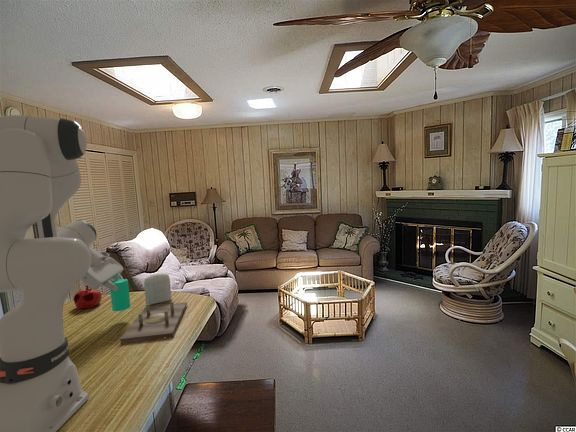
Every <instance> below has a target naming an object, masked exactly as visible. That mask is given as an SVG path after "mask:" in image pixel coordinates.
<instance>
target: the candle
mask: <svg viewBox="0 0 576 432" xmlns="http://www.w3.org/2000/svg"><path fill="white" fill-rule="evenodd" d="M110 281H111V282H112V283H114V284H116V285H117V286H119V289H118V290H117V291H114V290H112V289H110V288H109V290H110V299H111V300H110V301H111V309H112V311H113V312H121V311H125V310H128V309H129V308H131V300H130V298H131V297H130V289H129V280H128V279H127V278H125V279H124V278H123V279H119V277H118V279H117V280H115V279H114V280H110Z"/></svg>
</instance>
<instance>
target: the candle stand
mask: <svg viewBox="0 0 576 432" xmlns="http://www.w3.org/2000/svg"><path fill="white" fill-rule="evenodd" d="M187 303H188V302H180V303H179V302H177V303H174V301H170V302H169V303H167V304H157V305H150V304H146V303H145V307H144V309H142V311H141V312H140V313H138V314H137V315H138V316H137V317H136V318H135V319H134V321H133V322H132V324H131V325H130V326H129V327H128V329H127V330H126V331H125V333H123V335H122V336H121V338H120V339H119V341H120V344H127V343H129V344H130V343H137V341H138V342H145V341H144V340H146V341H151V339H155V340H160V339H159V338H163V339H165V338H164V337H171V338H174V336H173V335H175V334H176V331H177V329H178V327H179V325H178V324H180V322H181V320H182V318H183V316H184V313H185V311H186V309H185V308H187V307H186V305H187V306H188V304H187ZM184 310H185V311H184ZM183 312H184V313H183ZM182 315H183V316H182ZM181 317H182V318H181ZM180 319H181V320H180ZM179 321H180V322H179ZM177 326H178V327H177ZM176 328H177V329H176ZM174 333H175V334H174Z"/></svg>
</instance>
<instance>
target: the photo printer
mask: <svg viewBox="0 0 576 432" xmlns="http://www.w3.org/2000/svg"><path fill="white" fill-rule="evenodd" d="M143 283H144V286H143V287H144V296H145V305H146V304H150V306H153V305H156V304H159V303H164V302H169V301H171V300H172V291H171V278H170V276H169V274H168V273H155V274H152V275H149V276H147V277H145V278H144V282H143Z"/></svg>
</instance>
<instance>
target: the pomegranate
mask: <svg viewBox="0 0 576 432" xmlns="http://www.w3.org/2000/svg"><path fill="white" fill-rule="evenodd" d="M72 300H73V303H74V305H75V307H76V308H77V309H80V310H82V309H90V308H93V307H96V306H97V305H99V304H100V303H101V302H102V293H101V292H100V291H99V290H98V289H97V290H94V289H91V288H90V287H89V286H87V285H86V284H85V289H83V288H80V289H79V290H78V291H77V292H76V294H74V296H73V299H72Z"/></svg>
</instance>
